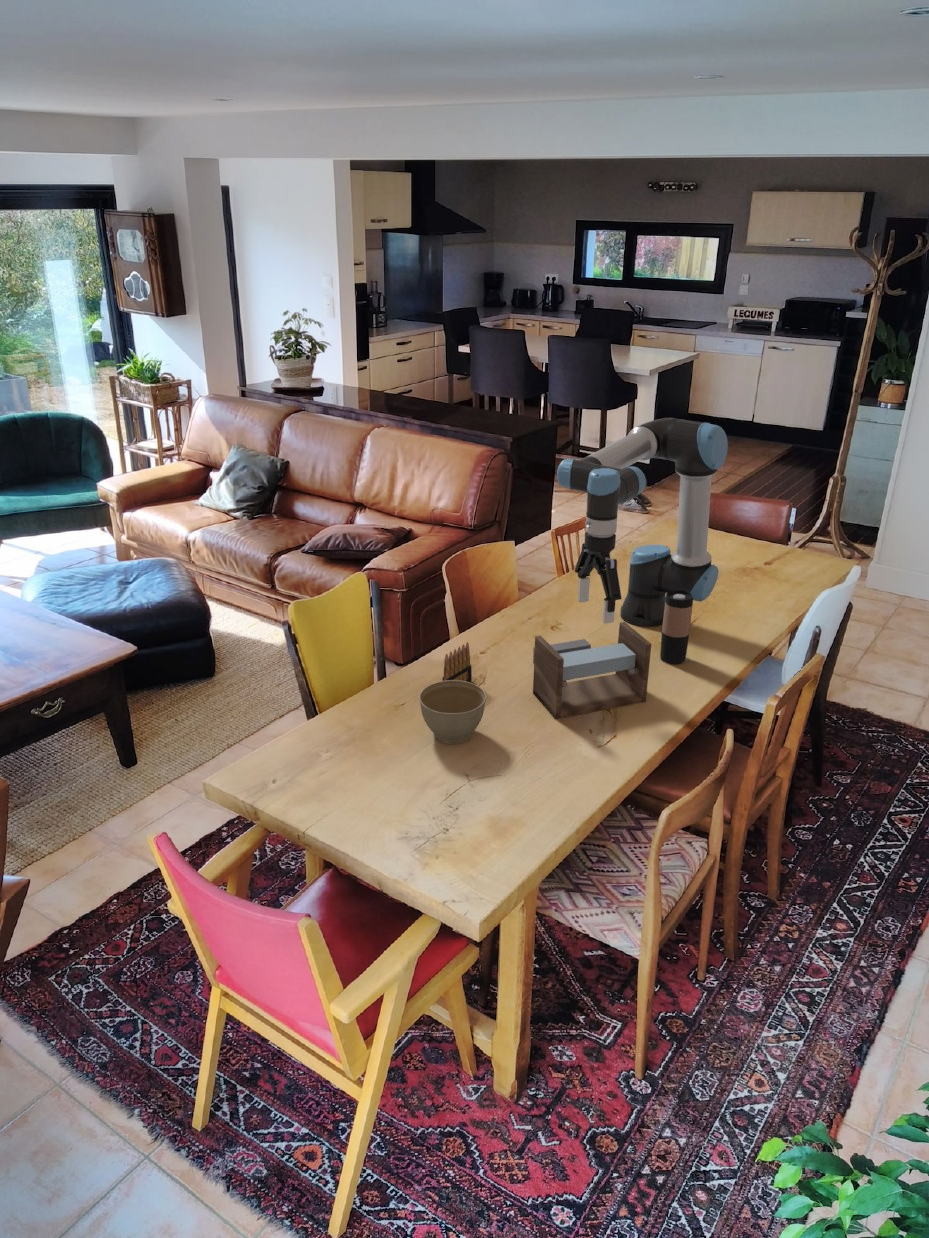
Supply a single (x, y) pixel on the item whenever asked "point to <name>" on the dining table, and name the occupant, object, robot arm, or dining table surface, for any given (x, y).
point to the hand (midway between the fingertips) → (595, 611)
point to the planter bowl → (452, 709)
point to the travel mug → (676, 626)
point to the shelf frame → (590, 680)
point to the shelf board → (597, 661)
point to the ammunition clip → (458, 665)
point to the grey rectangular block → (569, 646)
